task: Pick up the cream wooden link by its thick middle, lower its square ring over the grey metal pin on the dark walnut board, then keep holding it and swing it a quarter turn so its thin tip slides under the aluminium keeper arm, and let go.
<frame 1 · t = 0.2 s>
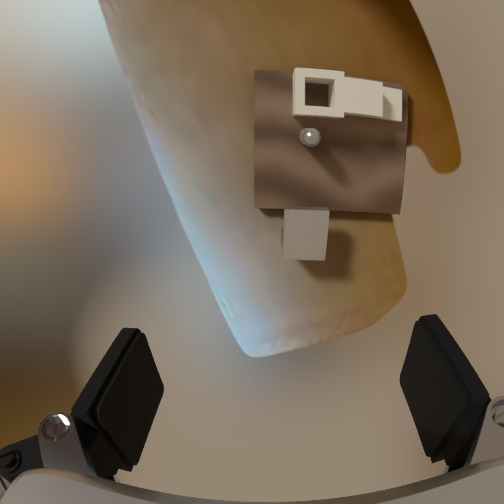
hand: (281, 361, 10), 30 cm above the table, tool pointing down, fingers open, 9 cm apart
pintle: (304, 136, 35), resting on board
link: (363, 100, 31), point 1 cm above the table, touching board
board: (332, 141, 35), on the table
keeper: (301, 221, 39), on the table
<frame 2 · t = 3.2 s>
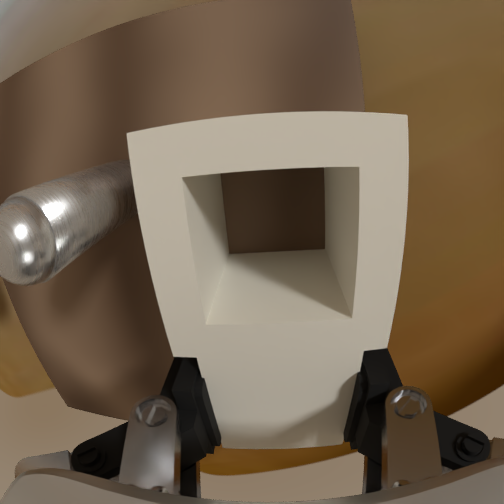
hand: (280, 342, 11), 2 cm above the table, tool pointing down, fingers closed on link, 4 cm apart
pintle: (141, 180, 11), resting on board
link: (281, 352, 12), point 2 cm above the table, touching board, gripper
board: (145, 264, 12), on the table
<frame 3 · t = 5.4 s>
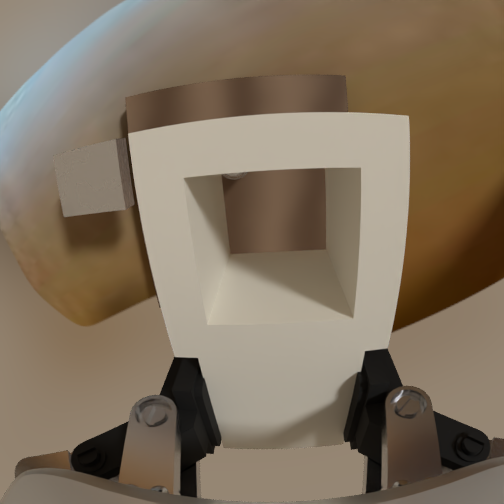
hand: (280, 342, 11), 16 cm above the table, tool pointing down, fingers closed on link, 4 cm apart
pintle: (244, 154, 23), resting on board
link: (282, 352, 12), point 15 cm above the table, touching gripper
board: (241, 197, 24), on the table
keeper: (120, 169, 24), on the table
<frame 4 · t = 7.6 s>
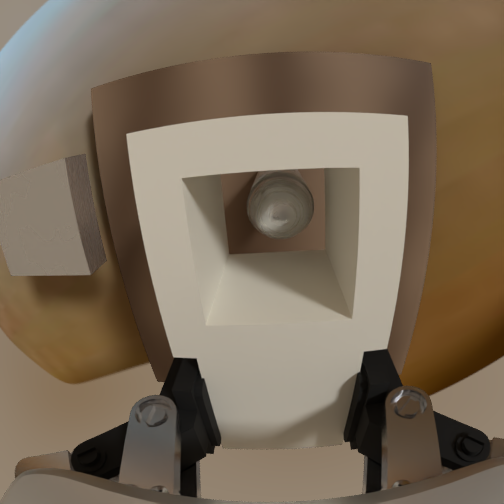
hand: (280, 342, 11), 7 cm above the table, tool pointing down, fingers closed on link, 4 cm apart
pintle: (278, 175, 15), resting on board
link: (281, 353, 12), point 6 cm above the table, touching gripper
board: (272, 241, 16), on the table
keeper: (90, 196, 16), on the table
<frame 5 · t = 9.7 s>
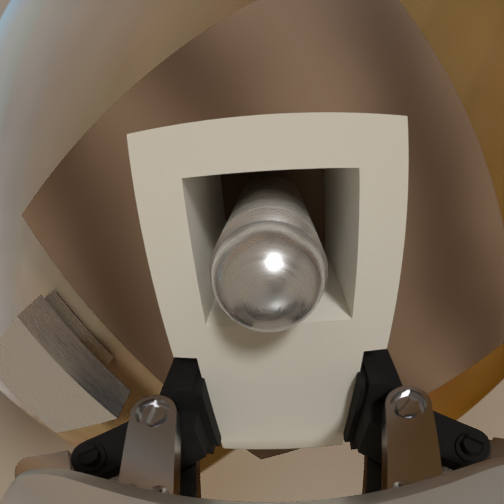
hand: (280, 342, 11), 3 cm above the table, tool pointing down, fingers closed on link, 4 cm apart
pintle: (270, 194, 11), resting on board
link: (281, 352, 12), point 2 cm above the table, touching gripper
board: (307, 273, 12), on the table
keeper: (92, 317, 14), on the table
when the fingers open (2 cm above the table, at t = 11.9 s): link stays where it is, resting on board.
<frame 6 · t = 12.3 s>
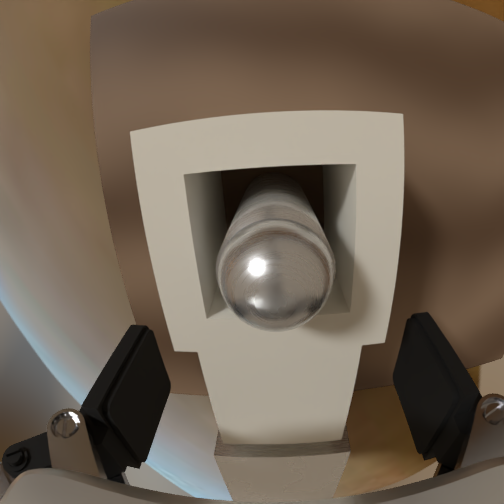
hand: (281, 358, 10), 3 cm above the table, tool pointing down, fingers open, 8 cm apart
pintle: (274, 193, 11), resting on board
link: (281, 349, 12), point 1 cm above the table, touching board
board: (366, 203, 11), on the table
keeper: (282, 398, 15), on the table
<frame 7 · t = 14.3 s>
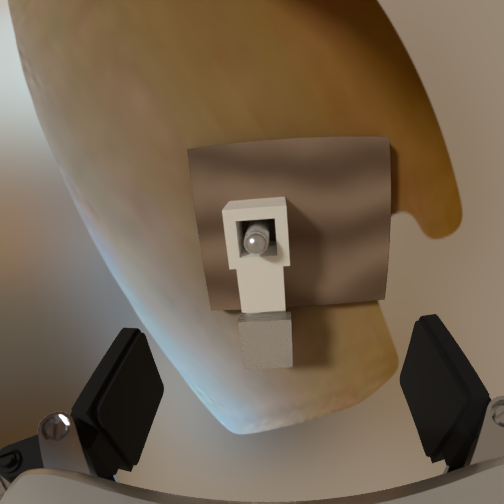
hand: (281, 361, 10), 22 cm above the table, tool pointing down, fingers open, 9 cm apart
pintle: (260, 222, 30), resting on board
link: (264, 282, 31), point 1 cm above the table, touching board
board: (295, 224, 30), on the table
keeper: (268, 316, 34), on the table
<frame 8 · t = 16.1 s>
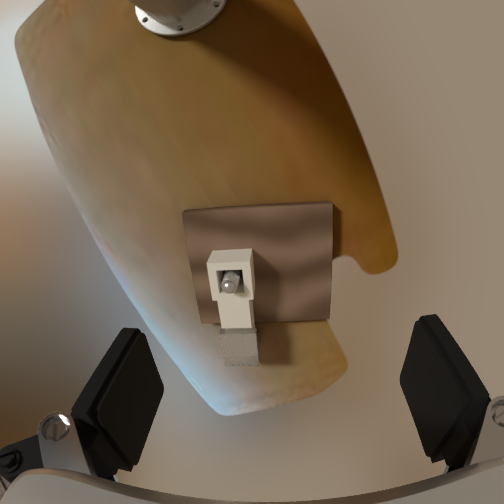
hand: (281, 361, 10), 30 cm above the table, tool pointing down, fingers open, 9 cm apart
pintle: (235, 263, 42), resting on board
link: (238, 305, 43), point 1 cm above the table, touching board
board: (261, 265, 42), on the table
keeper: (243, 327, 46), on the table
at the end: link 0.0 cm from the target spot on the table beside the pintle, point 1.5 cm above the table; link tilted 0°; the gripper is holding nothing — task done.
